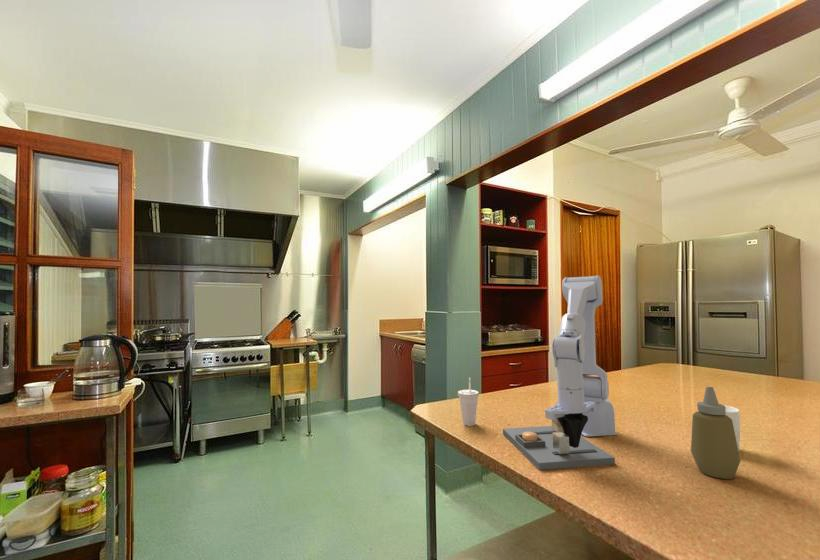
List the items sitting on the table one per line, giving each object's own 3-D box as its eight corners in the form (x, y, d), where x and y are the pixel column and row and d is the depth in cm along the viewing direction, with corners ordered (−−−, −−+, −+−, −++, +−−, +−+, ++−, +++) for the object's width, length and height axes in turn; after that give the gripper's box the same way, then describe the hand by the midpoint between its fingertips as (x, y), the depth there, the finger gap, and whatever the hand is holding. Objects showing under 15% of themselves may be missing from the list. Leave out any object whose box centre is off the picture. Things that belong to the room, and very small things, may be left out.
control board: (563, 430, 103) (563, 420, 103) (615, 464, 81) (614, 451, 81) (502, 434, 101) (502, 424, 101) (539, 470, 79) (538, 457, 79)
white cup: (727, 457, 84) (724, 413, 84) (692, 444, 91) (690, 404, 92) (751, 453, 86) (748, 410, 86) (715, 441, 93) (712, 401, 94)
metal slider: (562, 448, 86) (561, 432, 86) (569, 453, 83) (568, 436, 83) (553, 448, 86) (552, 432, 86) (559, 454, 83) (558, 437, 83)
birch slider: (560, 428, 99) (559, 414, 100) (566, 431, 96) (565, 417, 97) (552, 428, 99) (551, 414, 99) (557, 432, 96) (556, 417, 96)
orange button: (533, 439, 93) (533, 431, 93) (540, 444, 89) (539, 436, 89) (520, 440, 92) (519, 432, 92) (526, 445, 89) (525, 437, 89)
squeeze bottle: (692, 461, 82) (686, 381, 83) (740, 471, 77) (733, 386, 78) (691, 475, 76) (685, 388, 77) (743, 486, 71) (736, 393, 72)
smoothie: (479, 428, 107) (478, 380, 107) (457, 426, 108) (456, 379, 109) (479, 421, 113) (478, 375, 114) (459, 420, 114) (458, 375, 115)
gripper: (578, 380, 92) (581, 435, 91) (534, 387, 86) (537, 445, 85) (602, 386, 86) (606, 445, 85) (557, 393, 80) (560, 456, 79)
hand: (573, 445), depth 85 cm, fingers closed
